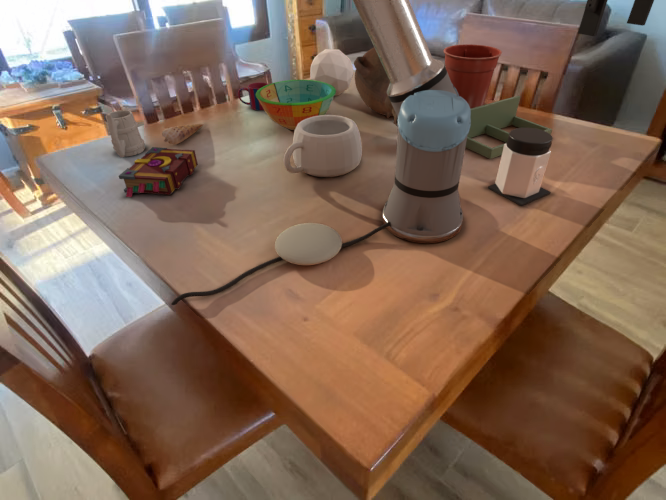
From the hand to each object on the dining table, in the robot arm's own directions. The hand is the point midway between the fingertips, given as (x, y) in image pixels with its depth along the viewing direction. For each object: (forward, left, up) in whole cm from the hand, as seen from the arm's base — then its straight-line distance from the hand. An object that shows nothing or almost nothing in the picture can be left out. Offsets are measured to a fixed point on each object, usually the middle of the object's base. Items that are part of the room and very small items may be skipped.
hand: (612, 29), depth 71 cm
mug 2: (-35, +39, -32) cm, 61 cm away
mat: (-5, +6, -32) cm, 33 cm away
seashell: (-57, +76, -32) cm, 100 cm away
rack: (+13, +26, -32) cm, 43 cm away
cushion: (-53, +12, -32) cm, 63 cm away
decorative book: (-69, +54, -32) cm, 93 cm away
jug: (-1, +55, -32) cm, 64 cm away
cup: (-31, +88, -32) cm, 99 cm away
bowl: (-27, +66, -32) cm, 78 cm away
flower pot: (+24, +51, -32) cm, 65 cm away
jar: (-5, +6, -31) cm, 32 cm away
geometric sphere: (-4, +85, -32) cm, 91 cm away
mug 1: (-73, +74, -32) cm, 109 cm away
